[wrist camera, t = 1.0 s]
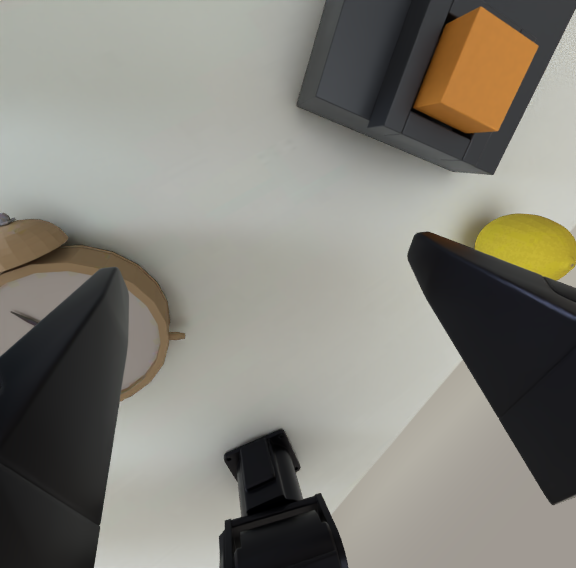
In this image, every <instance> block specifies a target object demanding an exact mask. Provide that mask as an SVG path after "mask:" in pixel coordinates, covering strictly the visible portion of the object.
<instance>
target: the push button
mask: <svg viewBox="0 0 576 568" xmlns="http://www.w3.org/2000/svg"><path fill="white" fill-rule="evenodd" d="M478 7H483V8H485V9H486V10H488V11H489V12H490V13H492V14H493V15H495V16H496V17H498V18H499V19H501V20H502V21H504V22H505V23H506V24H508V25H509V26H511V27H512V28H514V29H515V30H517V31H518V32H520V33H521V34H522V35H524V36H525V37H527V38H528V39H530V40H531V41H533V42H534V43H536V44H537V45H538V49H537V51H536V53H535V55H534V57H533V59H532V62H531V64H530V66H529V68H528V70H527V72H526V74H525V76H524V78H523V80H522V82H521V84H520V87H519V89H518V91H517V93H516V95H515V97H514V99H513V101H512V103H511V105H510V107H509V109H508V112H507V114H506V116H505V118H504V120H503V122H502V124H501V126H500V128H499V130H498V131H495V132H480V133H463V132H461V131H459V130H457V129H455V128H453V127H451V126H449V125H447V124H444V123H442V122H440V121H438V120H436V119H434V118H432V117H430V116H428V115H426V114H424V113H422V112H420V111H418V110H416V109H414V108H413V105H414V103H415V100H416V98H417V95H418V93H419V90H420V88H421V85H422V82H423V80H424V77H425V75H426V72H427V70H428V67H429V65H430V62H431V59H432V57H433V54H434V52H435V49H436V47H437V44H438V42H439V39H440V37H441V34H442V31H443V29H444V26H445V25H446V24H447V23H449V22H451V21H453V20H455V19H457V18H459V17H461V16H463V15H465V14H467V13H469V12H470V11H472V10H474V9H476V8H478ZM575 9H576V0H326V3H325V7H324V10H323V14H322V17H321V21H320V24H319V28H318V31H317V35H316V38H315V42H314V45H313V49H312V52H311V56H310V59H309V63H308V66H307V70H306V73H305V77H304V80H303V84H302V87H301V91H300V94H299V98H298V101H297V106H298V107H300V108H303V109H305V110H307V111H310V112H312V113H315V114H317V115H319V116H322V117H324V118H327V119H329V120H331V121H334V122H336V123H338V124H341V125H343V126H346V127H348V128H350V129H353V130H355V131H357V132H360V133H362V134H365V135H367V136H369V137H372V138H374V139H376V140H379V141H381V142H384V143H386V144H388V145H391V146H393V147H395V148H398V149H400V150H403V151H405V152H407V153H410V154H412V155H414V156H417V157H419V158H422V159H424V160H426V161H429V162H431V163H434V164H436V165H438V166H441V167H443V168H445V169H448V170H450V171H453V172H463V173H475V174H487V175H493V174H494V172H495V170H496V168H497V166H498V164H499V162H500V160H501V158H502V156H503V154H504V152H505V150H506V148H507V146H508V144H509V142H510V140H511V138H512V136H513V134H514V132H515V130H516V128H517V126H518V124H519V122H520V120H521V118H522V116H523V114H524V112H525V110H526V108H527V106H528V104H529V102H530V100H531V98H532V96H533V94H534V92H535V90H536V88H537V86H538V84H539V82H540V80H541V78H542V76H543V73H544V71H545V69H546V67H547V65H548V63H549V61H550V59H551V57H552V55H553V53H554V51H555V49H556V47H557V45H558V43H559V41H560V39H561V37H562V35H563V33H564V31H565V29H566V27H567V25H568V23H569V21H570V19H571V17H572V15H573V13H574V11H575Z"/></svg>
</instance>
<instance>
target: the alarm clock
mask: <svg viewBox="0 0 576 568" xmlns="http://www.w3.org/2000/svg"><path fill="white" fill-rule="evenodd" d="M14 220H16V219H15V218H12V219H10V218H9V216H8V215H6V214H5V213H0V356H1V355H2V354H3V353H5V352H6V351H7V350H8V349H9V348H10V347H11V346H13V345H14V344H15V343H16V342H17V341H18V340H19V339H21V338H22V337H23V336H24V335H25V334H26V333H27V332H28V331H30V330H31V329H32V328H33V327H34V326H35V325H36V324H38V323H39V322H40V321H41V320H42V319H43V318H44V317H46V316H47V315H48V314H49V313H50V312H51V311H52V310H54V309H55V308H56V307H57V306H58V305H59V304H60V303H61V302H63V301H64V300H65V299H66V298H67V297H68V296H69V295H71V294H72V293H73V292H74V291H75V290H76V289H77V288H79V287H80V286H81V285H82V284H83V283H84V282H85V281H87V280H88V279H89V278H90V277H91V276H92V275H93V274H95V273H96V272H97V271H98V270H99V269H101V268H108V267H117V268H119V270H120V272H121V274H122V277H123V279H124V281H125V284H126V286H127V289H128V293H129V333H128V350H127V357H126V363H125V370H124V376H123V382H122V389H121V395H120V401H123V400H124V399H126V398H128V397H131V396H132V395H134V394H135V393H136V392H138V391H139V390H140V389H142V388H143V387H144V386H146V385H147V384H148V383H150V382H151V381H152V379H153V378H154V377H155V375H156V374H157V372H158V371H159V370H160V368H161V367H162V366H163V364H164V360H165V357H166V353H167V349H168V345H169V340H180V339H185V333H180V332H169V325H170V317H169V309H168V302H167V300H166V298H165V296H164V294H163V292H162V290H161V289H160V287H159V285H158V283H157V282H156V281H155V280H154V279H153V278H152V277H151V276H150V275H149V274H148V273H147V272H146V271H145V270H143V269H142V268H141V267H140V266H139V265H138V264H136V263H134V262H132V261H130V260H128V259H126V258H124V257H122V256H120V255H118V254H116V253H114V252H111V251H107V250H102V249H97V248H93V247H88V246H83V245H76V246H61V245H62V244H64V243H65V242H66V241H67V240H68V236H67V235H66V234H65V233H64V232H63V231H62V230H61V229H60V228H59V227H57V226H56V225H54V224H52V223H50V222H47V221H43V220H38V219H25V220H17V221H14ZM12 221H13V222H12Z"/></svg>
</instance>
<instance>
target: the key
mask: <svg viewBox="0 0 576 568" xmlns="http://www.w3.org/2000/svg"><path fill="white" fill-rule="evenodd" d="M537 49H538V45H537V44H536V43H534V42H533V41H531V40H530V39H528V38H527V37H525V36H524V35H522V34H521V33H520V32H518V31H517V30H515V29H514V28H512V27H511V26H509V25H508V24H506V23H505V22H504V21H502V20H501V19H499V18H498V17H496V16H495V15H493V14H492V13H490V12H489V11H488V10H486V9H485V8H483V7H478V8H476V9H474V10H472V11H470V12H469V13H467V14H465V15H463V16H461V17H459V18H457V19H455V20H453V21H451V22H449V23H447V24H446V25H445V26H444V29H443V31H442V34H441V37H440V39H439V42H438V44H437V47H436V49H435V52H434V54H433V57H432V59H431V62H430V65H429V67H428V70H427V72H426V75H425V77H424V80H423V82H422V85H421V88H420V90H419V93H418V95H417V98H416V100H415V103H414V105H413V108H414V109H416V110H418V111H420V112H422V113H424V114H426V115H428V116H430V117H432V118H434V119H436V120H438V121H440V122H442V123H444V124H447V125H449V126H451V127H453V128H455V129H457V130H459V131H461V132H463V133H480V132H495V131H498V130H499V128H500V126H501V124H502V122H503V120H504V118H505V116H506V114H507V112H508V109H509V107H510V105H511V103H512V101H513V99H514V97H515V95H516V93H517V91H518V89H519V87H520V84H521V82H522V80H523V78H524V76H525V74H526V72H527V70H528V68H529V66H530V64H531V62H532V59H533V57H534V55H535V53H536V51H537Z"/></svg>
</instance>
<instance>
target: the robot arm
mask: <svg viewBox="0 0 576 568" xmlns="http://www.w3.org/2000/svg"><path fill="white" fill-rule="evenodd" d="M407 257H408V261H409V263H410V266H411V268H412V270H413V272H414V274H415V276H416V279H417V281H418V283H419V285H420V287H421V289H422V291H423V293H424V295H425V297H426V299H427V301H428V303H429V304H430V306H431V308H432V309H433V311H434V312H435V314H436V316H437V317H438V319H439V321H440V322H441V324H442V326H443V327H444V329H445V331H446V332H447V334H448V336H449V337H450V339H451V341H452V342H453V344H454V346H455V347H456V349H457V350H458V352H459V354H460V355H461V357H462V359H463V360H464V362H465V364H466V365H467V367H468V369H469V370H470V372H471V374H472V375H473V377H474V379H475V380H476V382H477V383H478V385H479V387H480V388H481V390H482V392H483V393H484V395H485V397H486V398H487V400H488V402H489V403H490V405H491V407H492V408H493V410H494V412H495V413H496V415H497V417H498V418H499V420H500V422H501V423H502V425H503V427H504V428H505V430H506V432H507V433H508V435H509V437H510V438H511V440H512V442H513V443H514V445H515V447H516V448H517V450H518V452H519V453H520V455H521V456H522V458H523V460H524V461H525V463H526V465H527V467H528V468H529V470H530V471H531V473H532V475H533V476H534V478H535V480H536V481H537V483H538V485H539V486H540V488H541V490H542V491H543V493H544V495H545V496H546V498H547V499H548V500H549V502H550V503H551V504H552V505H555V504H558V503H561V502H564V501H566V500H569V499H572V498H575V497H576V288H574V287H572V286H568V285H566V284H564V283H561V282H558V281H556V280H553V279H550V278H548V277H545V276H542V275H540V274H537V273H535V272H532V271H530V270H527V269H524V268H522V267H519V266H517V265H514V264H511V263H509V262H506V261H504V260H501V259H498V258H496V257H493V256H491V255H488V254H485V253H483V252H480V251H478V250H475V249H473V248H470V247H467V246H465V245H462V244H460V243H457V242H454V241H452V240H449V239H447V238H444V237H441V236H439V235H436V234H434V233H431V232H420V233H416V234H415V235H414V237H413V240H412V243H411V245H410V248H409V251H408V255H407ZM128 333H129V293H128V289H127V286H126V284H125V281H124V279H123V277H122V274H121V272H120V270H119V268H117V267H108V268H101V269H99V270H98V271H97V272H96V273H95V274H93V275H92V276H91V277H90V278H89V279H88V280H87V281H85V282H84V283H83V284H82V285H81V286H80V287H79V288H77V289H76V290H75V291H74V292H73V293H72V294H71V295H69V296H68V297H67V298H66V299H65V300H64V301H63V302H61V303H60V304H59V305H58V306H57V307H56V308H55V309H54V310H52V311H51V312H50V313H49V314H48V315H47V316H46V317H44V318H43V319H42V320H41V321H40V322H39V323H38V324H36V325H35V326H34V327H33V328H32V329H31V330H30V331H28V332H27V333H26V334H25V335H24V336H23V337H22V338H21V339H19V340H18V341H17V342H16V343H15V344H14V345H13V346H11V347H10V348H9V349H8V350H7V351H6V352H5V353H3V354H2V355H1V356H0V568H94V563H95V557H96V551H97V544H98V538H99V531H100V526H99V525H100V523H101V517H102V511H103V504H104V498H105V491H106V485H107V479H108V472H109V466H110V459H111V453H112V447H113V440H114V434H115V427H116V421H117V414H118V408H119V402H120V395H121V389H122V382H123V376H124V370H125V363H126V357H127V350H128ZM224 461H225V463H226V464H227V466H228V468H229V469H230V471H231V472H232V474H233V476H234V477H235V479H236V480H237V482H238V489H239V498H240V507H241V517H240V518H236V519H233V520H231V519H229V520H225V530H224V531H223V533H222V534H221V535H220V536H219V547H220V566H219V568H348V563H347V558H346V555H345V551H344V547H343V544H342V541H341V538H340V535H339V532H338V530H337V528H336V525H335V523H334V521H333V519H332V517H331V514H330V512H329V510H328V508H327V506H326V503H325V501H324V499H323V497H322V495H321V493H319V494H315V496H313V497H309V498H306V499H303V497H302V493H301V490H300V486H299V483H298V480H297V476H296V473H295V472H297V471H299V470H300V464H299V462H298V460H297V457H296V455H295V453H294V451H293V448H292V446H291V444H290V442H289V439H288V437H287V435H286V433H285V431H284V430H278V431H275V432H273V433H271V434H269V435H266V436H264V437H262V438H259V439H257V440H255V441H253V442H250V443H248V444H246V445H243V446H241V447H239V448H237V449H234V450H232V451H230V452H227V453H226V454H225V455H224Z"/></svg>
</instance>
